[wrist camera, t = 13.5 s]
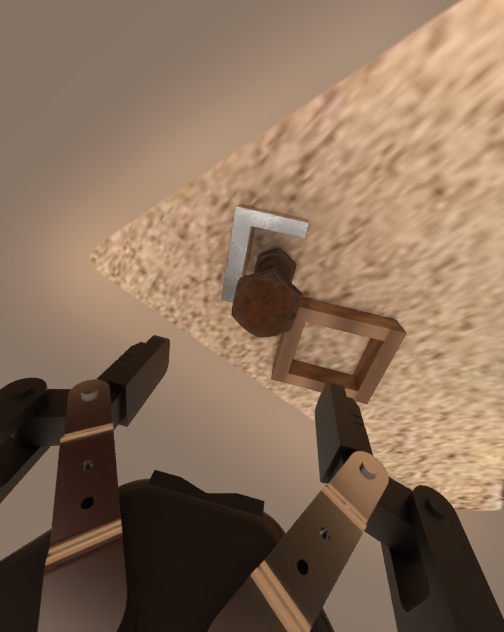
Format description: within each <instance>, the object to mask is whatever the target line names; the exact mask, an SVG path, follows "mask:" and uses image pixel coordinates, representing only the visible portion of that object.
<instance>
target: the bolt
mask: <svg viewBox="0 0 504 632" xmlns="http://www.w3.org/2000/svg"><path fill="white" fill-rule="evenodd" d="M295 269H296V263H295V262H294V261H293V260H292V259H291V258H290V257H289V256H288V255H287V254H286V253H285V252H284V251H283V250H282V249H275V250H271V251H268V252H265V253H262V254H260V255H259V256H258V258H257V262H256V267H255V271H254V274H251V275H248V276H244V277H240V279H239V281H238V283H237V286H236V290H235V295H234V301H233V306H232V316H233V317H234V319H235V320H236V321H237V322H238V323H239V324H240V325H241V326H242V327H243V328H244V329H245V330H247V331H248V332H249V333H251V334H253V335H254V336H256V337H271V336H276V335H280V334H283V333H285V332H288V331H290V330H292V328H293V325H294V322H295V319H296V316H297V313H298V310H299V307H300V303H301V299H302V293H301V292H300V291H299V290H298V289H297V288H296V287H295V286H294V285H293V284H292V280H293V276H294V273H295Z"/></svg>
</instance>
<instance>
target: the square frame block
mask: <svg viewBox="0 0 504 632" xmlns="http://www.w3.org/2000/svg"><path fill="white" fill-rule="evenodd" d="M305 322H309V323H313V324H317V325H321V326H325V327H329V328H333V329H337V330H341V331H345V332H349V333H353V334H357V335H361V336H365V337H369V338H371V340H370V342H369V344H368V346H367V348H366V350H365V352H364V354H363V356H362V358H361V360H360V362H359V364H358V366H357V368H356V370H355V372H354V374H353V375H349V374H345V373H342V372H338V371H334V370H330V369H326V368H322V367H318V366H314V365H310V364H306V363H302V362H299V361H295V360H293V357H294V354H295V351H296V348H297V345H298V342H299V339H300V336H301V333H302V330H303V327H304V324H305ZM406 334H407V333H406V332H405V330H404V329H403V328H402V326H401V325H400V324H399V323H398V321H397V320H393V319H389V318H385V317H381V316H377V315H373V314H369V313H365V312H361V311H357V310H352V309H348V308H344V307H340V306H336V305H332V304H328V303H324V302H320V301H316V300H312V299H307V298H303V297H302V299H301V303H300V307H299V310H298V313H297V316H296V319H295V322H294V325H293V328H292V330H290V331H288V332H285V333H283V334H282V336H281V340H280V343H279V346H278V350H277V353H276V357H275V360H274V363H273V369H272V377H271V379H273V380H276V381H280V382H284V383H288V384H292V385H296V386H299V387H303V388H307V389H311V390H315V391H319V392H322V391H323V388H324V386H325V384H326V382H327V381H331V382H335V383H339V384H342V385H344V387H345V391H346V395H347V397H350V398H353V399H354V401H357V402H361V403H365V404H367V403H368V402H369V400H370V398H371V396H372V395H373V393H374V391H375V389H376V387H377V386H378V384H379V382H380V380H381V378H382V377H383V375H384V373H385V371H386V370H387V368H388V366H389V364H390V362H391V361H392V359H393V357H394V355H395V353H396V352H397V350H398V348H399V346H400V345H401V343H402V341H403V339H404V337H405V336H406Z"/></svg>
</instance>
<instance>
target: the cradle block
mask: <svg viewBox="0 0 504 632" xmlns="http://www.w3.org/2000/svg"><path fill="white" fill-rule="evenodd" d="M308 224H309V223H308V220H306V219H302V218H297V217H293V216H289V215H284V214H280V213H276V212H271V211H267V210H263V209H258V208H254V207H249V206H245V205H239V206H236V210H235V216H234V223H233V229H232V235H231V242H230V248H229V254H228V261H227V267H226V273H225V280H224V286H223V292H222V299H221V300H225V301H229V302H233V301H234V295H235V290H236V286H237V283H238V281H239V279H240V277H244V276H245V274H246V268H247V263H248V258H249V253H250V248H251V243H252V238H253V233H254V228H255V227H258V228H262V229H267V230H271V231H275V232H279V233H284V234H288V235H292V236H297V237H301V238H305V234H306V231H307V227H308Z"/></svg>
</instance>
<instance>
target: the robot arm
mask: <svg viewBox="0 0 504 632" xmlns="http://www.w3.org/2000/svg"><path fill="white" fill-rule="evenodd" d="M169 348H170V340H169V339H168V338H164V337H160V336H156V335H154V336H152V337H151V338H150V339H149V340H148V341H147V342H146V343H143V342H140V343H138V344H136V345H133V346H131V347H130V348H129V349H128V350H127V351H126V352H125V353H124V355H122V356H120V357H119V359H118V360H116V361H115V362H114V363H113V364H112V365H111V366H110V367H109V368H108V369H107V370H106V371H104V372H103V374H101V375H100V376H99V377H98V378H97V379H95V380H87V381H83V382H81V383H79V384H77V385H75V386H74V387H73V388H72V389H47V385H46V382H45V381H44V380H42V379H39V378H24V379H20V380H17V381H14V382H12V383H10V384H8V385H6V386H5V387H4V388H2V389H1V390H0V503H1V502H2V501H3V500H4V499H5V497H6V496H7V495H8V494H9V493H10V492H11V491H12V489H13V488H14V487H15V486H16V485H17V484H18V482H19V481H20V480H21V479H22V478H23V477H24V476H25V475H26V474H27V472H28V471H29V470H30V469H31V468H32V467H33V466H34V465H35V463H36V462H37V461H38V460H39V459H40V457H42V455H43V454H44V453H45V452H46V451H47V450H48V449H49V448H50V446H56V445H60V447H59V457H58V467H57V477H56V487H55V497H54V507H53V517H52V528H51V529H50V530H49V531H47V532H45V533H44V534H42V535H41V536H39V537H37V538H36V539H34V540H33V541H31V542H30V543H28V544H26V545H25V546H23V547H22V548H20V549H18V550H17V551H15V552H14V553H12V554H10V555H9V556H7V557H6V558H4V559H2V560H1V561H0V632H334V630H333V628H332V626H331V623H330V621H329V619H328V617H327V615H326V613H325V611H324V609H323V606H324V604H325V602H326V600H327V598H328V596H329V595H330V593H331V591H332V589H333V587H334V585H335V583H336V582H337V580H338V578H339V576H340V574H341V573H342V570H343V569H344V567H345V565H346V563H347V562H348V560H349V558H350V556H351V554H352V552H353V551H354V549H355V547H356V545H357V543H358V542H359V540H360V538H361V536H362V534H363V532H364V531H365V532H366V533H368V534H369V535H371V536H372V537H374V538H375V539H377V540H378V541H380V542H381V546H382V552H383V557H384V562H385V567H386V573H387V578H388V583H389V588H390V593H391V599H392V604H393V609H394V614H395V619H396V625H397V629H398V632H504V619H503V617H502V614H501V612H500V610H499V607H498V605H497V603H496V601H495V599H494V596H493V594H492V592H491V590H490V587H489V585H488V583H487V581H486V578H485V576H484V574H483V572H482V570H481V567H480V565H479V563H478V560H477V558H476V556H475V554H474V552H473V549H472V547H471V545H470V543H469V540H468V538H467V536H466V534H465V531H464V529H463V527H462V525H461V522H460V520H459V518H458V516H457V514H456V512H455V510H454V508H453V507H452V505H451V504H450V503H449V502H448V500H447V499H446V498H445V497H444V496H442V495H441V494H440V493H439V492H437V491H436V490H434V489H432V488H430V487H428V486H423V485H420V486H417V487H416V488H415V489H414V490H413V491H412V490H411V489H409V488H407V487H405V486H404V485H402V484H400V483H398V482H396V481H394V480H393V479H392V478H390V477H389V476H388V473H387V471H386V469H385V467H384V466H383V464H382V463H381V462H380V461H379V460H378V459H377V458H375V457H374V456H373V453H372V450H371V446H370V443H369V439H368V436H367V432H366V429H365V427H364V422H363V419H362V415H361V412H360V408H359V406H358V405H357V404H356V402H355V401H354V399H353V398H350V397H347V395H346V391H345V387H344V385H342V384H339V383H335V382H331V381H327V382H326V384H325V386H324V388H323V391H322V393H321V395H320V397H319V400H318V402H317V405H316V409H315V423H316V435H317V448H318V460H319V473H320V482H322V483H327V484H328V485H325V486H324V487H323V488H322V489H321V491H320V492H319V493H318V494H317V496H316V497H315V498H314V499H313V501H312V502H311V503H310V504H309V506H308V507H307V508H306V509H305V510H304V512H303V513H302V514H301V515H300V517H299V518H298V519H297V520H296V521H295V523H294V524H293V525H292V526H291V528H290V529H289V530H288V531H287V533H285V531H284V530H283V529H282V528H281V526H280V525H279V524H278V523H277V522H276V521H275V520H274V519H273V518H272V517H271V516H269V515H268V514H267V513H265V512H264V511H263V510H264V501H262V500H258V499H254V498H251V497H248V496H244V495H241V494H237V493H220V494H219V493H212V494H211V493H205V492H204V491H202V490H200V489H199V488H197V487H196V486H194V485H192V484H191V483H189V482H188V481H186V480H184V479H183V478H181V477H178V476H175V475H171V474H167V473H164V472H160V471H157V470H154V472H153V474H152V476H151V478H150V479H142V480H136V481H133V482H129V483H126V484H124V485H122V486H120V487H118V477H117V466H116V453H115V441H114V429H115V428H116V427H117V426H118V424H119V425H123V426H126V427H128V425H129V424H130V422H131V421H132V419H133V418H134V417H135V415H136V414H137V413H138V411H139V410H140V408H141V407H142V406H143V404H144V403H145V401H146V400H147V399H148V397H149V396H150V395H151V393H152V392H153V390H154V389H155V387H156V386H157V385H158V383H159V382H160V381H161V379H162V378H163V376H164V375H165V373H166V371H167V368H168V363H169Z"/></svg>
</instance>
